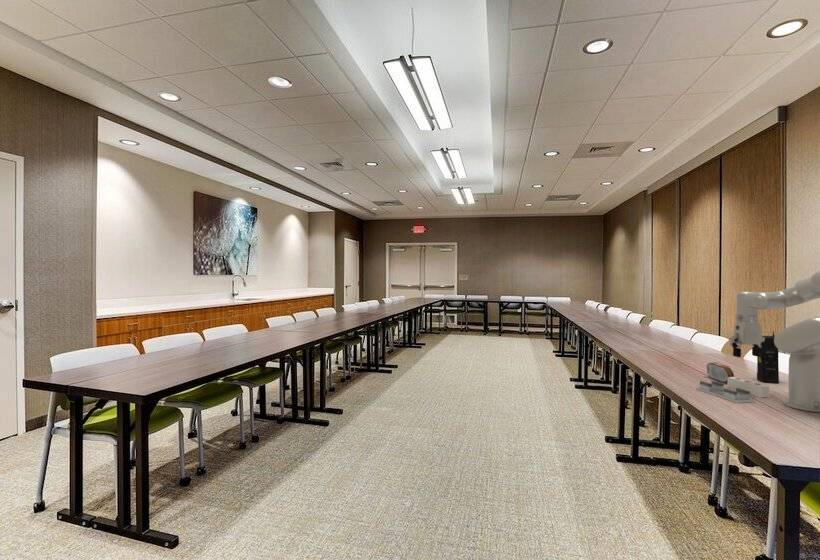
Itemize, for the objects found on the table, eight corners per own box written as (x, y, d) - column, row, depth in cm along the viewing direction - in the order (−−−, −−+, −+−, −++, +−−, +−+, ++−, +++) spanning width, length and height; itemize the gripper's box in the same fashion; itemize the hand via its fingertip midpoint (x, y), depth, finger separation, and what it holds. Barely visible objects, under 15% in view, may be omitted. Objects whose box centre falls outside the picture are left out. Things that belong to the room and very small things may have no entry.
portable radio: (760, 382, 192) (760, 332, 192) (753, 379, 198) (753, 330, 198) (780, 383, 190) (780, 332, 190) (772, 380, 196) (772, 330, 195)
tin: (734, 384, 189) (734, 367, 189) (728, 384, 189) (728, 367, 189) (711, 376, 204) (711, 360, 204) (705, 376, 204) (705, 360, 204)
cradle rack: (754, 402, 163) (754, 392, 163) (736, 403, 162) (736, 393, 162) (711, 388, 183) (711, 379, 183) (696, 389, 182) (696, 380, 182)
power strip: (769, 397, 169) (769, 385, 169) (761, 398, 169) (761, 386, 169) (734, 387, 185) (734, 376, 185) (727, 387, 185) (727, 376, 185)
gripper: (738, 320, 172) (737, 358, 172) (772, 319, 174) (771, 357, 174) (722, 318, 179) (721, 355, 180) (755, 317, 181) (755, 354, 182)
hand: (746, 356), depth 177 cm, fingers open, 9 cm apart
